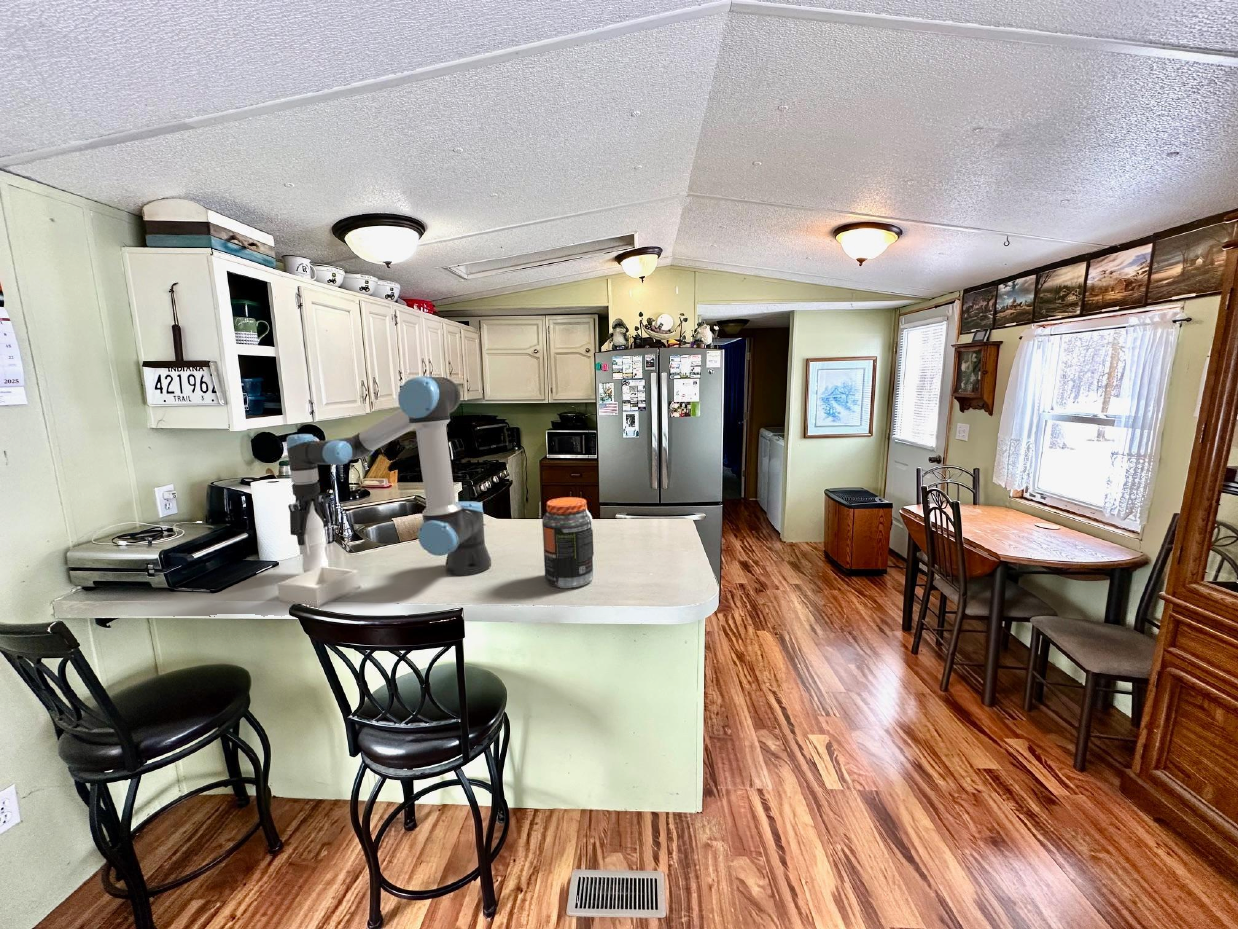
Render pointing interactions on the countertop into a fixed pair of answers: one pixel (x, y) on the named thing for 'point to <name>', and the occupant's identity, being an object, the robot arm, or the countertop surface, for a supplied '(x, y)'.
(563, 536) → the supplement tub
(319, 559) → the water bottle
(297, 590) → the bin
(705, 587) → the countertop surface
